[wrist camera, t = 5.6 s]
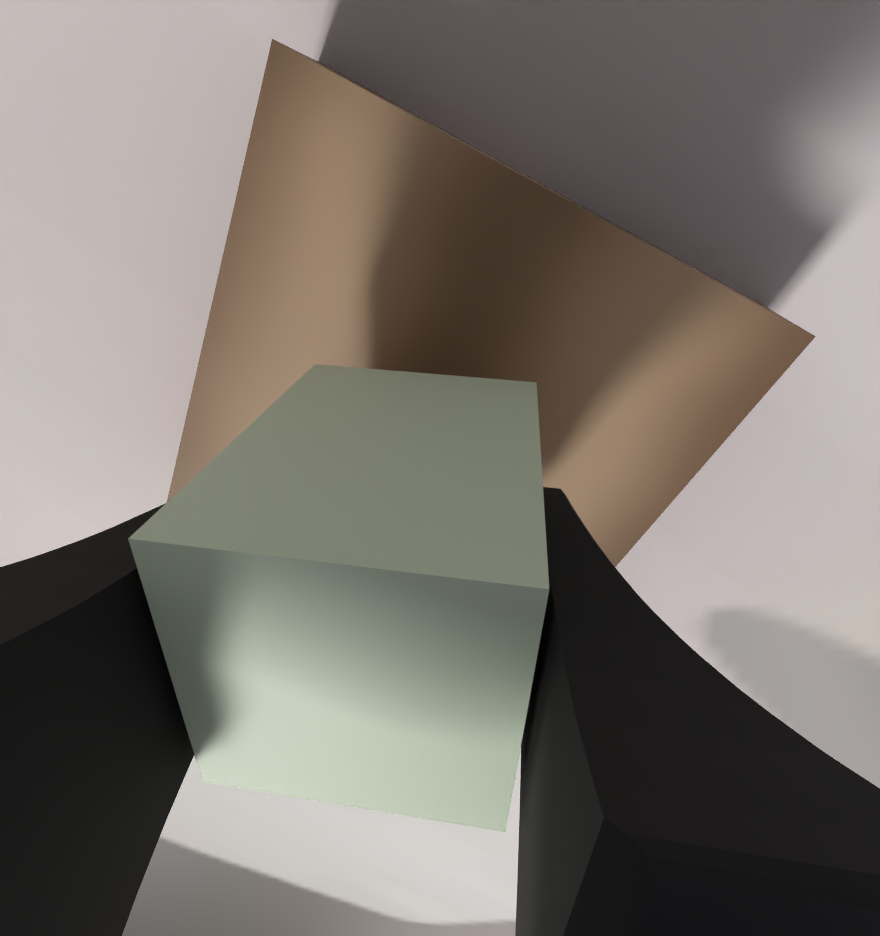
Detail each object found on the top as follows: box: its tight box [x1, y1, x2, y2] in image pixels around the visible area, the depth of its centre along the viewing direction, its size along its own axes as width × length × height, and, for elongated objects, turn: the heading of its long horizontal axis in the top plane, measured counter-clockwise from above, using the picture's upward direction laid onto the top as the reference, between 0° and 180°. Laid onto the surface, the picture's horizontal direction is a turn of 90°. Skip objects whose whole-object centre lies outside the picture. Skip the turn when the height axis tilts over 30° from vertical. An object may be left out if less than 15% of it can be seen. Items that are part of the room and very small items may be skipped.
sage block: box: [128, 364, 549, 832], centre depth 9 cm, size 4×4×6 cm
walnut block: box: [167, 39, 815, 567], centre depth 15 cm, size 12×12×3 cm
